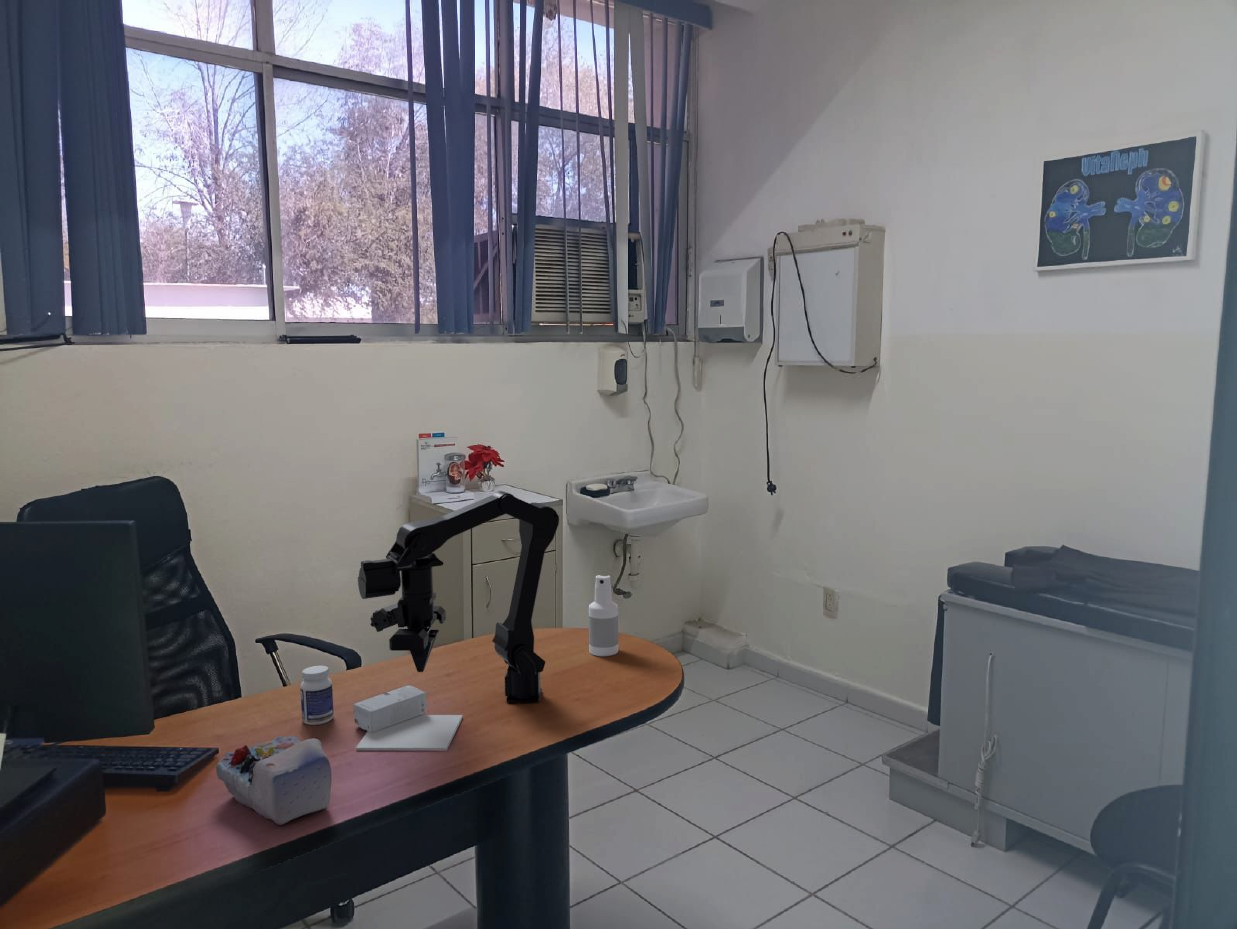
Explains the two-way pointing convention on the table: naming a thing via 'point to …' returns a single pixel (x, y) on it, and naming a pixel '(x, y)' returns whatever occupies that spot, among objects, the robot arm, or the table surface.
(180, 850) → the table surface
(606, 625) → the spray bottle
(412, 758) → the table surface
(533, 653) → the robot arm
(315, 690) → the pill bottle
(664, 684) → the table surface
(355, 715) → the skincare box
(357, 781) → the table surface
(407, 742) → the mat
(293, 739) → the cell model
